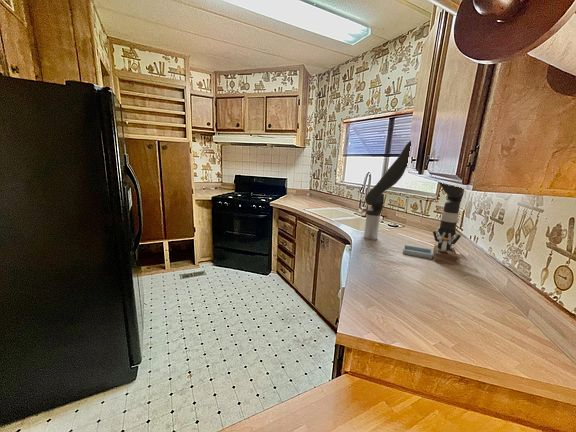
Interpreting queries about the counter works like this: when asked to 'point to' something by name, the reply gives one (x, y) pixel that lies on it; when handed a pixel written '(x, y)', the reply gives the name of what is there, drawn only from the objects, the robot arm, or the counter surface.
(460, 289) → the counter surface
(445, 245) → the pin
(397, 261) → the counter surface
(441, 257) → the wooden socket block
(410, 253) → the tray
